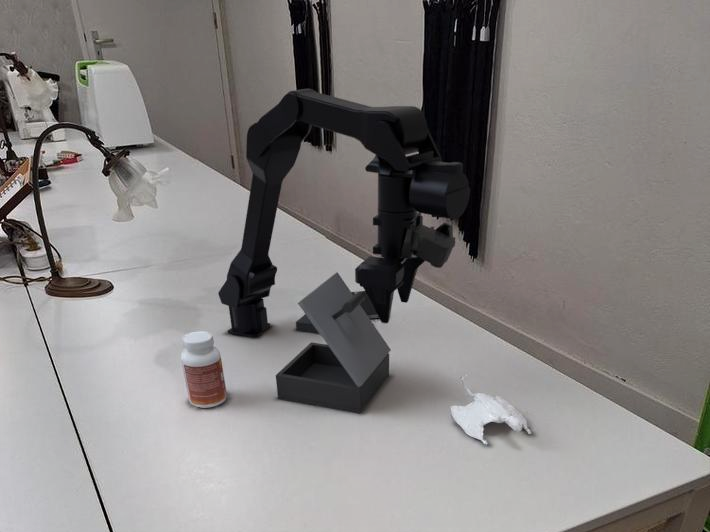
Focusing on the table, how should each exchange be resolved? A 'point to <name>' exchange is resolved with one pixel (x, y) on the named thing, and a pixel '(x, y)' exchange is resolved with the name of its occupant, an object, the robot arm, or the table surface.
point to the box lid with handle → (345, 327)
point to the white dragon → (486, 414)
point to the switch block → (305, 325)
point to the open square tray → (327, 381)
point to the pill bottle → (203, 370)
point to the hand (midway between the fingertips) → (395, 312)
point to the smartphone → (367, 306)
